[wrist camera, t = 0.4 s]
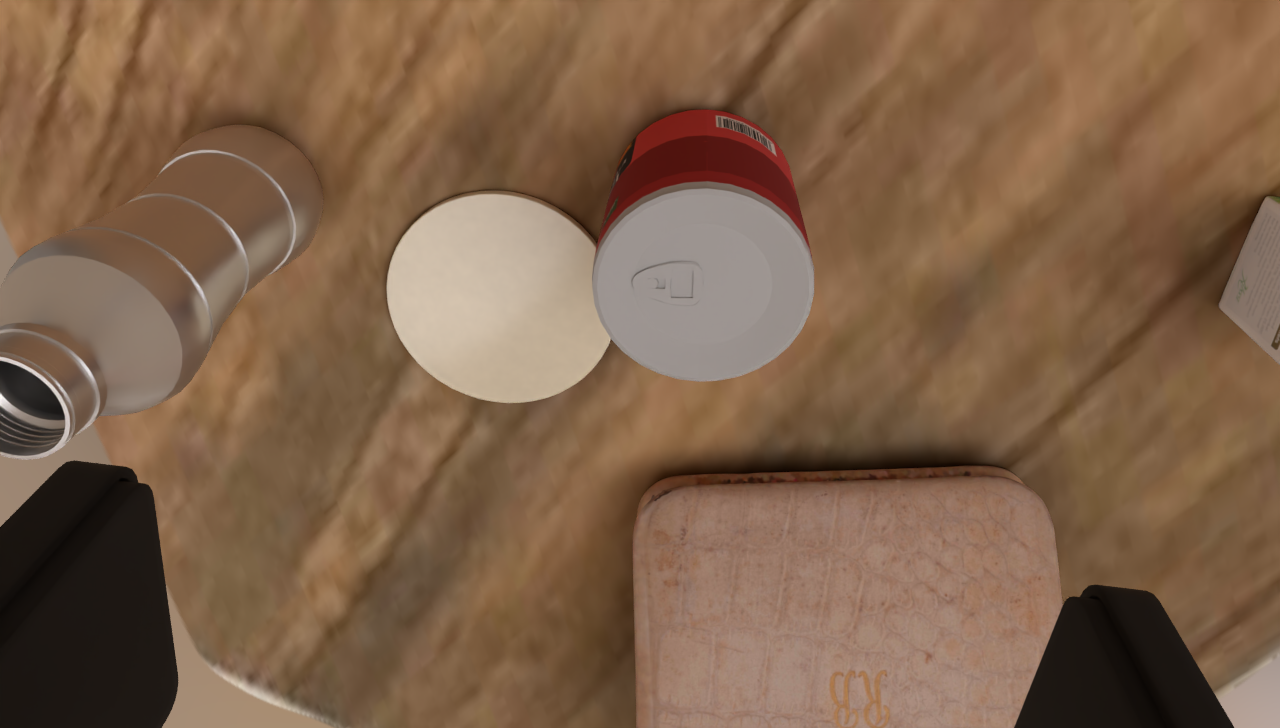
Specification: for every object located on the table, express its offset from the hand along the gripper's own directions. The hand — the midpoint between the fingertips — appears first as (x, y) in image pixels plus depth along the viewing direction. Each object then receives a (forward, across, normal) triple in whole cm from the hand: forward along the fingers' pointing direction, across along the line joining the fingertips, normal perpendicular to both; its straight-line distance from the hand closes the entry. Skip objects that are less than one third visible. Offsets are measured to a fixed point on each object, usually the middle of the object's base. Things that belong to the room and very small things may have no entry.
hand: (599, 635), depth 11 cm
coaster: (+36, +6, +14) cm, 39 cm away
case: (+37, -12, +30) cm, 49 cm away
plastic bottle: (+37, +18, +9) cm, 42 cm away
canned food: (+36, -2, +7) cm, 37 cm away
